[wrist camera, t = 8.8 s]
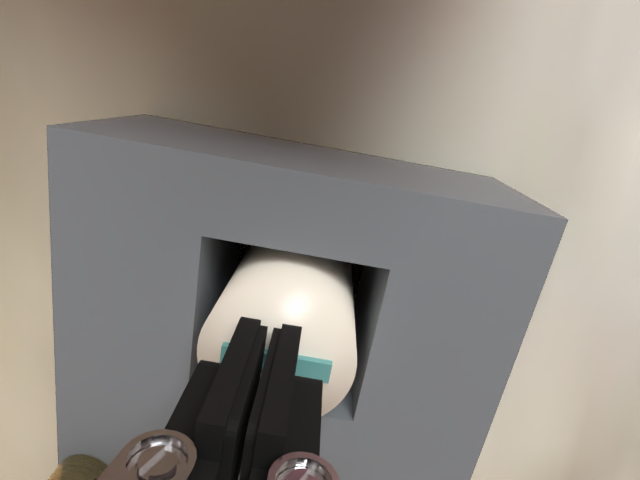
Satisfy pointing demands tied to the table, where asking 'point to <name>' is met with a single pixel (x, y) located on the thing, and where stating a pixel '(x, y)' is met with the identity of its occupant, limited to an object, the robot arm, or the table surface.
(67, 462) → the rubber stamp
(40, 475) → the table surface
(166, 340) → the panel
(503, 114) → the table surface
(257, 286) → the knob
